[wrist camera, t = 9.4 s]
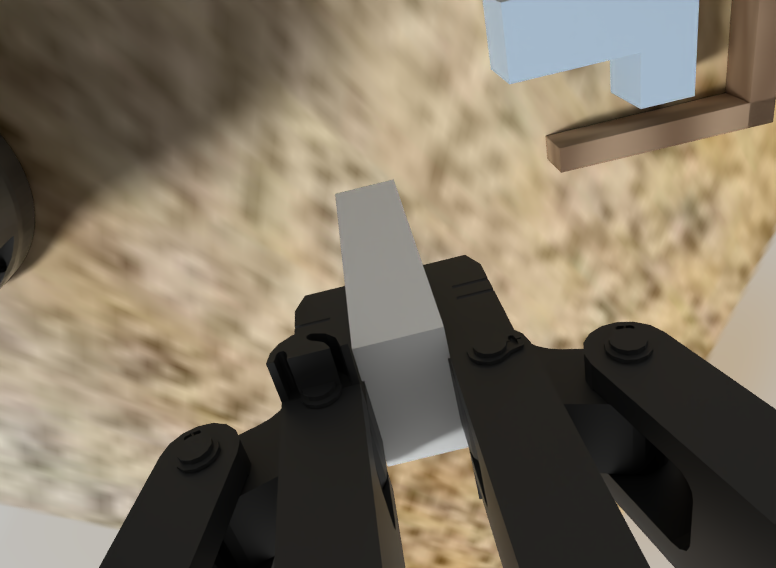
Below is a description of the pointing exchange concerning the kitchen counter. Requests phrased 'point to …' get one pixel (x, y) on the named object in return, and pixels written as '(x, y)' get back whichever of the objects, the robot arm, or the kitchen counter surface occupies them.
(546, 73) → the blue t-shaped block
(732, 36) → the bay
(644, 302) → the kitchen counter surface
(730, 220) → the kitchen counter surface
